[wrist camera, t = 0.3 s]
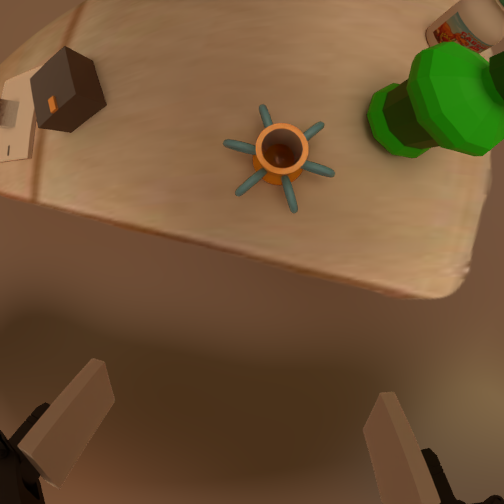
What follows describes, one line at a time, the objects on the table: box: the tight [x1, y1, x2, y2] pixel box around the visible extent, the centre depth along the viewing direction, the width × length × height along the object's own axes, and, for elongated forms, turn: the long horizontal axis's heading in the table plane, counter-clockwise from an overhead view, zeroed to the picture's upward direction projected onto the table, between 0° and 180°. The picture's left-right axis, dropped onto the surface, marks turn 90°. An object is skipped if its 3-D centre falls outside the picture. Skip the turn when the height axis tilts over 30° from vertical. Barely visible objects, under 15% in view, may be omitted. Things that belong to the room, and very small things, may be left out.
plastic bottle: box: [367, 42, 504, 158], centre depth 20 cm, size 10×10×25 cm
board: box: [0, 65, 43, 162], centre depth 31 cm, size 18×14×7 cm
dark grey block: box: [30, 46, 106, 133], centre depth 29 cm, size 10×8×9 cm
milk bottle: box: [426, 0, 504, 54], centre depth 18 cm, size 8×8×20 cm
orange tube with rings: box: [223, 104, 335, 213], centre depth 28 cm, size 12×10×15 cm
